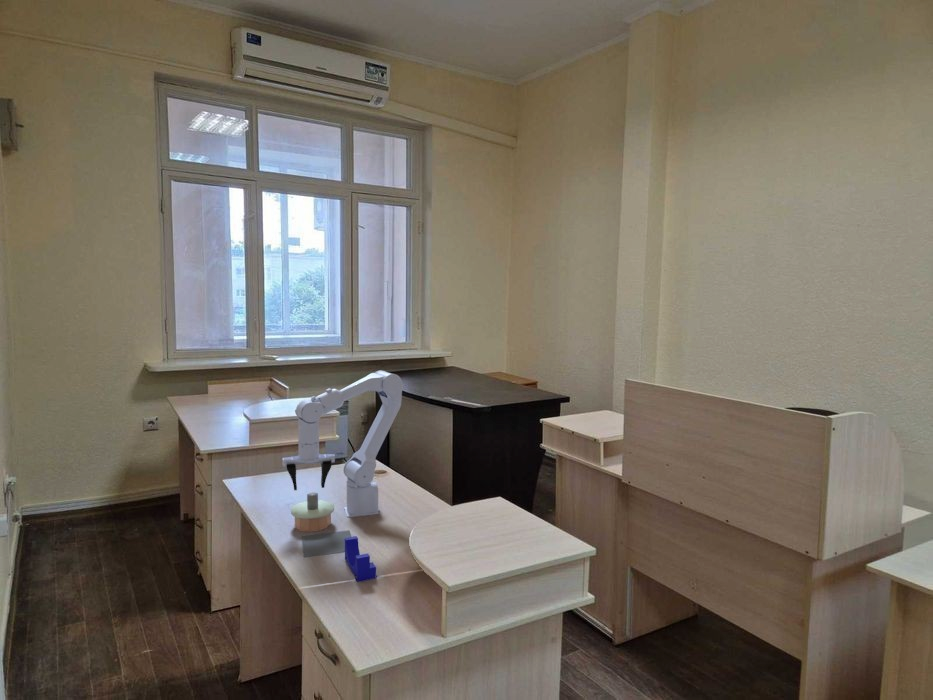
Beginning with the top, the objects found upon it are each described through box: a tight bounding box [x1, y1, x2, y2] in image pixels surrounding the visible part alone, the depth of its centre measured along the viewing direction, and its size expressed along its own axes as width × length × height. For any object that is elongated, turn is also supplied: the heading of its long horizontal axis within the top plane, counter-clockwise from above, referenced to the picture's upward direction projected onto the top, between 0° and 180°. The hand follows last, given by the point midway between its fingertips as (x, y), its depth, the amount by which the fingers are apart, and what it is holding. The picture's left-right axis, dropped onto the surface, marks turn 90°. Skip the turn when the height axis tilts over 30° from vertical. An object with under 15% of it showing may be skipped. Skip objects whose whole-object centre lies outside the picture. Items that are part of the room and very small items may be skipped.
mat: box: [301, 529, 352, 558], centre depth 155 cm, size 13×13×1 cm
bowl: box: [294, 513, 332, 533], centre depth 167 cm, size 10×10×4 cm
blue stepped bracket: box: [344, 535, 377, 583], centre depth 142 cm, size 12×4×6 cm, turn 26°
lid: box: [290, 492, 335, 519], centre depth 166 cm, size 12×12×5 cm
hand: (309, 487), depth 168 cm, fingers open, 7 cm apart
